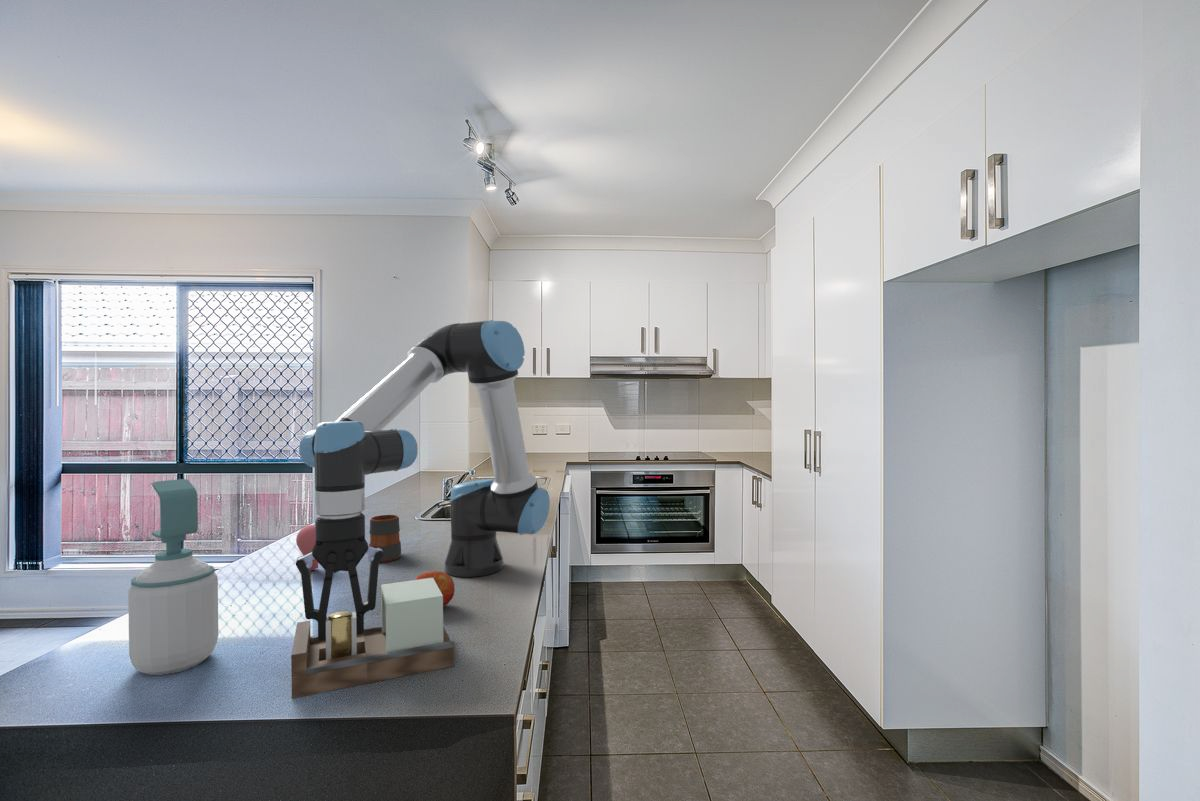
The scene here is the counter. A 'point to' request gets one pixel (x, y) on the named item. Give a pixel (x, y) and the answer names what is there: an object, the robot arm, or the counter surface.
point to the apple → (441, 584)
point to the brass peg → (341, 634)
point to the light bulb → (307, 542)
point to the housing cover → (412, 614)
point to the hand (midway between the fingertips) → (341, 655)
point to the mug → (386, 536)
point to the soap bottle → (173, 593)
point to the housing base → (359, 661)
